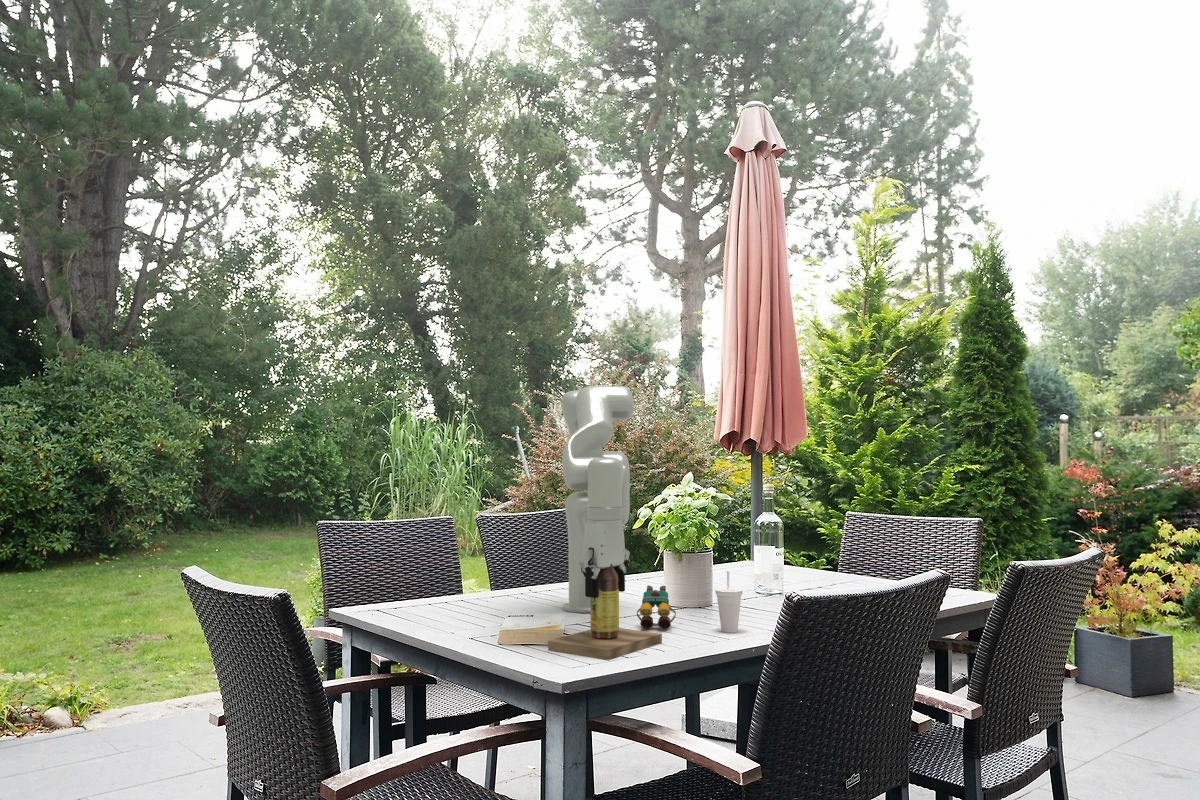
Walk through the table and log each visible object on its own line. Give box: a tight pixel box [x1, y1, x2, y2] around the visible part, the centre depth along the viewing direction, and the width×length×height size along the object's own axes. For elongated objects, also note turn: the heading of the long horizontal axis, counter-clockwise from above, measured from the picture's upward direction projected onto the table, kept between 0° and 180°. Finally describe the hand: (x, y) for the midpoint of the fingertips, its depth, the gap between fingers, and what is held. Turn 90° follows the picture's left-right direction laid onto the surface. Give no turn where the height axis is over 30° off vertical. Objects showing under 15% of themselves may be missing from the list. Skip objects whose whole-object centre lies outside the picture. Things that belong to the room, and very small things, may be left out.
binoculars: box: [636, 585, 677, 630], centre depth 217 cm, size 9×9×10 cm
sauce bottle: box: [589, 564, 620, 639], centre depth 196 cm, size 7×6×20 cm
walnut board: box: [547, 627, 663, 661], centre depth 196 cm, size 20×16×2 cm
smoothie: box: [714, 570, 744, 634], centre depth 212 cm, size 6×6×14 cm
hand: (605, 594), depth 197 cm, fingers open, 9 cm apart
